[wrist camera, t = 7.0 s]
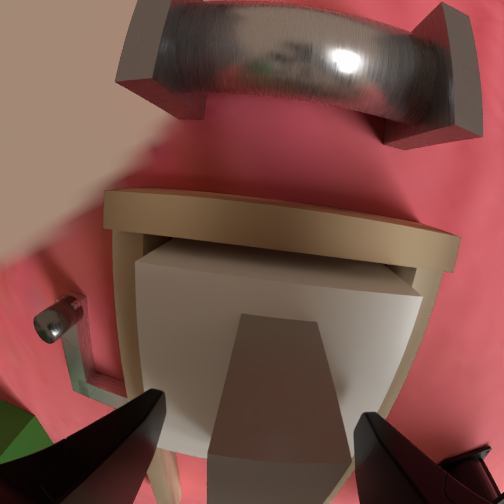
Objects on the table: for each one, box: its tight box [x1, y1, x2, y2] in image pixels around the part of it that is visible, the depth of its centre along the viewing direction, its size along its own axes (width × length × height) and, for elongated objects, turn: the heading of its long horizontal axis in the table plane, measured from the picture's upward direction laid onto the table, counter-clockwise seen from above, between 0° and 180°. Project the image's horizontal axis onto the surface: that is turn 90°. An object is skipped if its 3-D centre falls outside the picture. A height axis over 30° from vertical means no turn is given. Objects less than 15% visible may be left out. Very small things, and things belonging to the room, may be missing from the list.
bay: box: [103, 187, 461, 504], centre depth 12 cm, size 11×23×3 cm, turn 174°
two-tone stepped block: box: [135, 237, 423, 504], centre depth 8 cm, size 8×8×8 cm
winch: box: [115, 0, 483, 150], centre depth 7 cm, size 9×4×5 cm, turn 84°
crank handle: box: [34, 291, 128, 409], centre depth 12 cm, size 6×4×3 cm
